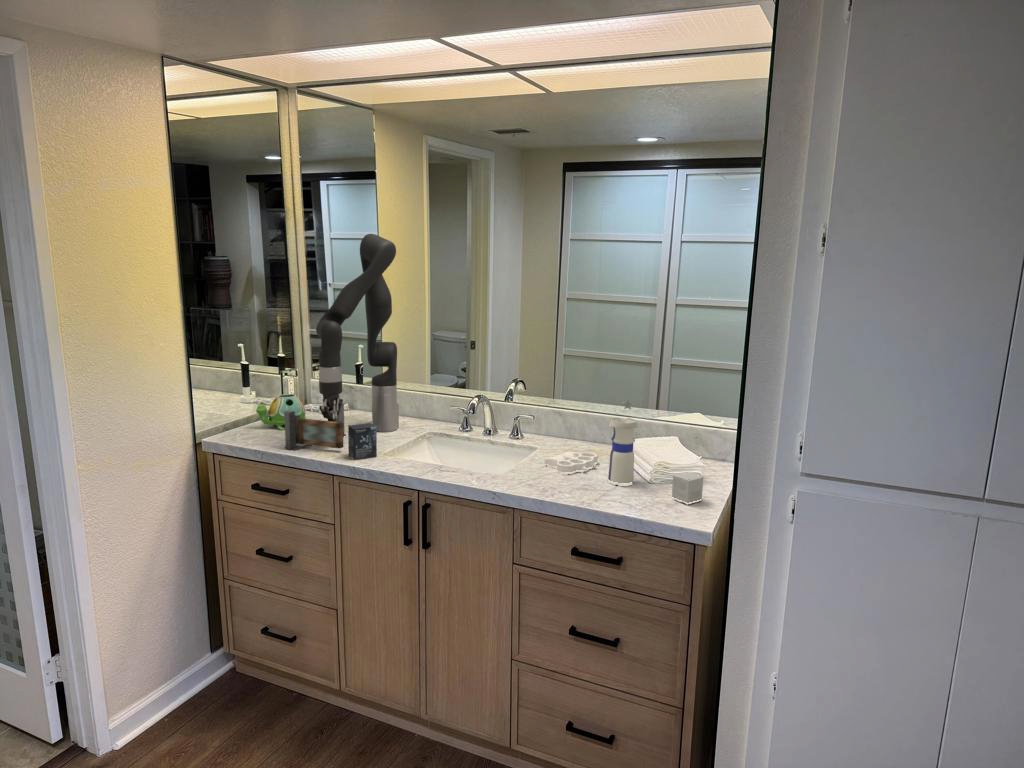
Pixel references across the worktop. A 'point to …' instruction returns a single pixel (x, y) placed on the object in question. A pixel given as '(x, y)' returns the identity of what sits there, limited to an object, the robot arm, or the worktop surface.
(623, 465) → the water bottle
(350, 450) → the box
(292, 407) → the turtle holder
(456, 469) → the worktop surface
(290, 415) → the gate frame
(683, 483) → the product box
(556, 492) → the worktop surface
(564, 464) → the knuckle duster
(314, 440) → the gate
